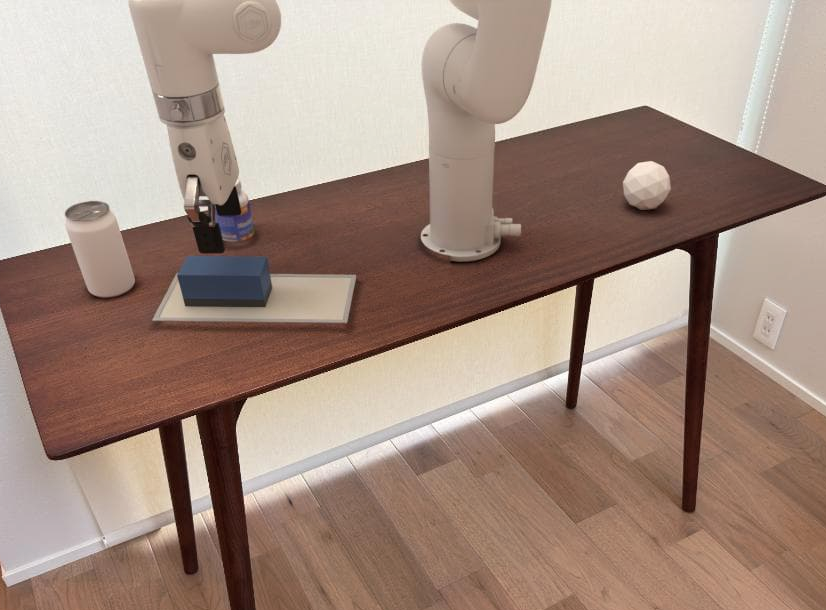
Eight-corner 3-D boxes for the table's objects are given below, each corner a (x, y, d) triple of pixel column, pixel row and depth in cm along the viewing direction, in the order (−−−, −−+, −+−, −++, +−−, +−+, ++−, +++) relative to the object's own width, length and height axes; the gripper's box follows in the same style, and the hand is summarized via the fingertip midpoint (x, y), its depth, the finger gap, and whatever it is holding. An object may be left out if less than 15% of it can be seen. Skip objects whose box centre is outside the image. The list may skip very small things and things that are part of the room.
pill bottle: (247, 250, 121) (236, 191, 114) (214, 246, 121) (201, 187, 115) (261, 233, 125) (250, 175, 118) (229, 229, 125) (217, 171, 119)
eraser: (272, 287, 111) (267, 256, 107) (265, 307, 107) (259, 275, 103) (194, 286, 111) (186, 255, 107) (185, 306, 107) (176, 274, 103)
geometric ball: (644, 226, 133) (646, 205, 126) (613, 196, 136) (613, 172, 128) (678, 198, 133) (682, 174, 126) (646, 168, 136) (648, 142, 128)
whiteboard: (357, 282, 114) (356, 274, 113) (347, 330, 105) (347, 322, 104) (178, 280, 114) (176, 272, 113) (154, 328, 105) (151, 320, 104)
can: (144, 286, 113) (121, 209, 105) (103, 304, 109) (76, 226, 101) (120, 270, 116) (97, 194, 108) (79, 287, 112) (52, 210, 104)
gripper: (203, 131, 85) (235, 268, 96) (237, 75, 98) (262, 201, 109) (134, 132, 85) (174, 268, 96) (177, 76, 98) (209, 202, 109)
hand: (221, 232), depth 103 cm, fingers open, 9 cm apart
